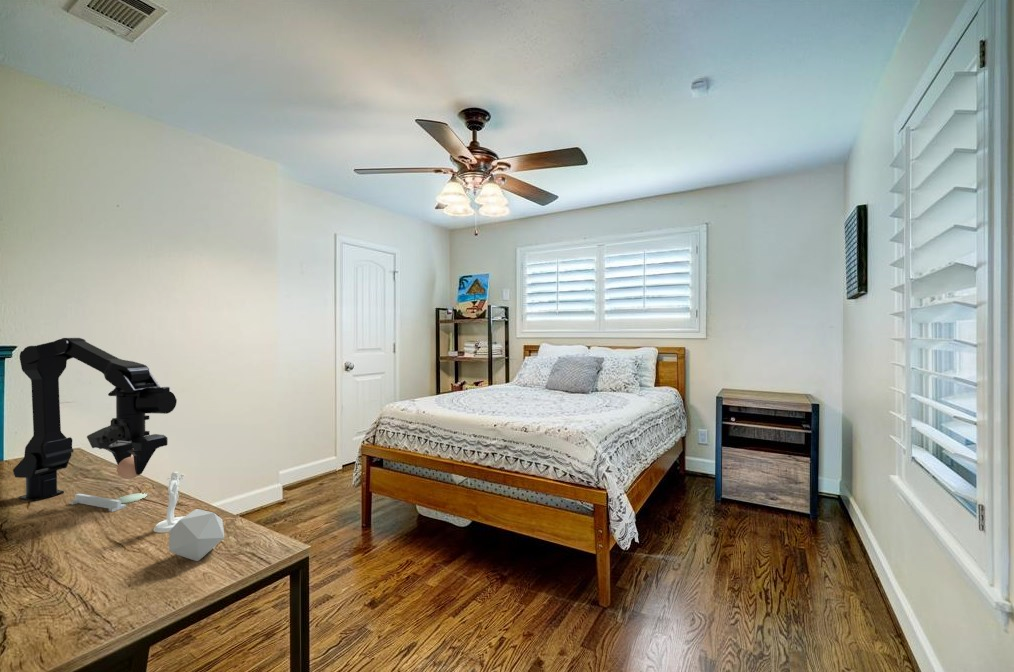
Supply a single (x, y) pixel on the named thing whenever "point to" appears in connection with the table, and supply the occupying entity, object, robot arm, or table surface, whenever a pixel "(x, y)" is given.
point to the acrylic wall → (98, 502)
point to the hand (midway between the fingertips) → (131, 473)
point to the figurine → (170, 505)
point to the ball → (127, 468)
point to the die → (196, 534)
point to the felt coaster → (131, 498)
